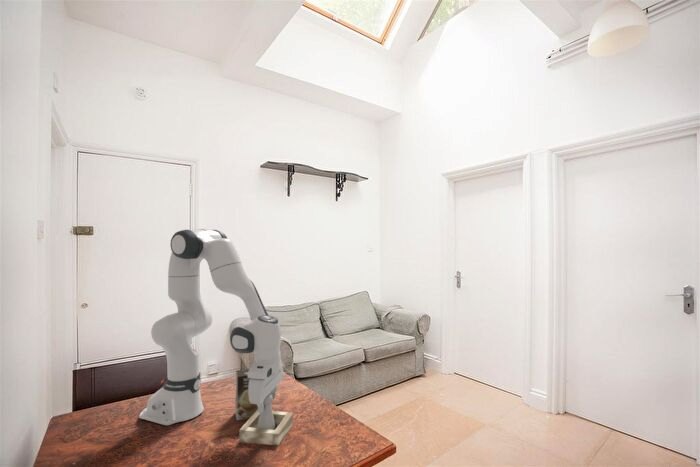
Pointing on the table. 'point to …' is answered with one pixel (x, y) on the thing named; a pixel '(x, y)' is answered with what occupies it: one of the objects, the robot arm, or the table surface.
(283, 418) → the socket block
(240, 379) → the coffee box
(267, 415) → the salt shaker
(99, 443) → the table surface
